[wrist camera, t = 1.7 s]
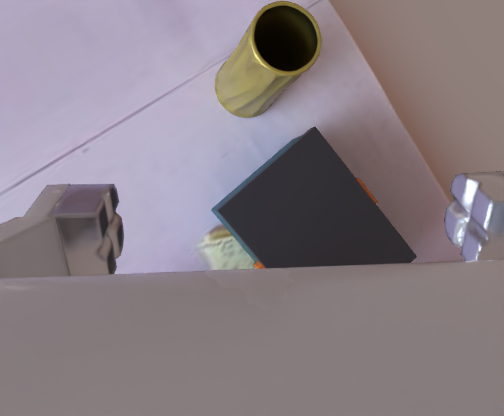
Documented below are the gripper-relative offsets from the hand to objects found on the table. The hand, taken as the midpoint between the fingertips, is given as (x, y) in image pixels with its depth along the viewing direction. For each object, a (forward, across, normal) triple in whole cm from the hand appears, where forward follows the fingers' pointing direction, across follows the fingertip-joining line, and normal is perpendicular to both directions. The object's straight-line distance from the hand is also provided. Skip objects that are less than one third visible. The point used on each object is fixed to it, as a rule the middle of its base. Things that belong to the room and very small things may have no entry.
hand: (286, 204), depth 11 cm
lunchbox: (+31, -5, +20) cm, 37 cm away
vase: (+37, 0, +7) cm, 37 cm away
